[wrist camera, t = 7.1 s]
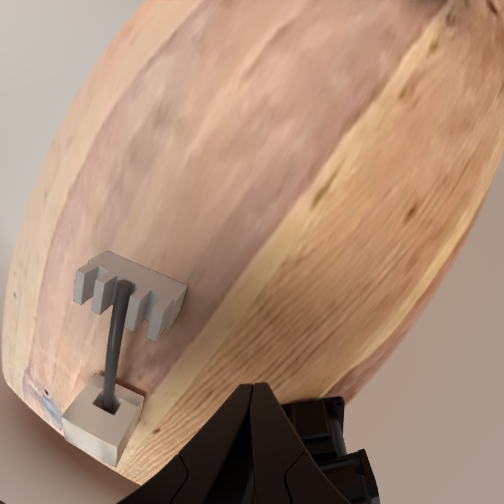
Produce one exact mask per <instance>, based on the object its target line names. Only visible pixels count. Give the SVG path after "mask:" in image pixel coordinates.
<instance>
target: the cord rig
mask: <svg viewBox="0 0 504 504" xmlns="http://www.w3.org/2000/svg"><path fill="white" fill-rule="evenodd" d="M187 287H188V285H186V284H183V283H181V282H178V281H176V280H173V279H171V278H169V277H166V276H164V275H162V274H159V273H157V272H154V271H152V270H150V269H147V268H145V267H143V266H140V265H138V264H136V263H134V262H131V261H129V260H127V259H125V258H122V257H120V256H118V255H116V254H113V253H111V252H109V251H106V252H104V253H102V254H100V255H98V256H96V257H94V258H92V259H90V260H88V264H86V265H84V266H83V267H81V268H79V269H77V271H76V279H75V288H74V298H73V301H75V302H76V303H78V304H80V305H82V304H83V303H84V302H86V301H87V300H88V299H90V298H91V297H92V296H93V302H92V310H91V311H93V312H95V313H97V314H99V315H101V314H102V313H103V312H104V311H105V310H106V309H107V308H109V307H110V306H111V305H113V310H112V317H111V323H110V330H109V338H108V345H107V354H106V363H105V374H104V387H103V403H102V410H104V411H106V412H108V413H110V414H113V403H114V393H115V384H116V376H117V368H118V361H119V354H120V347H121V341H122V335H123V329H124V327H125V328H127V329H129V330H131V331H133V332H134V331H135V330H136V328H137V327H138V326H139V325H140V324H141V322H142V321H143V320H146V321H149V322H150V323H149V327H148V331H147V336H146V338H148V339H150V340H153V341H155V342H156V341H157V340H158V338H159V337H160V335H161V334H162V332H163V331H164V329H167V330H169V328H170V326H171V325H172V323H173V322H174V320H175V319H176V317H177V316H178V314H179V312H180V309H181V306H182V303H183V300H184V296H185V293H186V290H187ZM126 313H127V315H126ZM125 318H126V320H125ZM124 324H125V325H124Z"/></svg>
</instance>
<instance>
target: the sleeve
mask: <svg viewBox="0 0 504 504" xmlns="http://www.w3.org/2000/svg"><path fill="white" fill-rule="evenodd" d="M103 387H104V377H103V376H101V375H99V374H97V373H95V375H94V376H93V377H92V378H91V380H90V381H89V382H88V383H87V385H86V386H85V387H84V388H83V390H82V391H81V392H80V393H79V395H78V396H77V397H76V399H75V400H74V401H73V402H72V404H71V405H70V406H69V407H68V409H67V410H66V411H65V413H64V414H63V415H62V417H61V418H62V424H63V430H64V436H65V440H66V441H68V442H70V443H71V444H73V445H75V446H76V447H78V448H80V449H81V450H83V451H85V452H87V453H89V454H90V455H92V456H94V457H96V458H98V459H100V460H102V461H104V462H106V463H108V464H110V465H112V466H114V467H116V466H117V464H118V462H119V460H120V458H121V456H122V454H123V452H124V450H125V448H126V446H127V444H128V442H129V440H130V438H131V436H132V434H133V432H134V430H135V428H136V426H137V424H138V422H139V420H140V415H141V410H142V405H143V400H144V396H141V395H139V394H137V393H135V392H133V391H131V390H128V389H126V388H124V387H122V386H120V385H118V384H115V393H114V403H113V414H110V413H108V412H106V411H104V410H102V403H103Z"/></svg>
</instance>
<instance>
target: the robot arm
mask: <svg viewBox="0 0 504 504" xmlns="http://www.w3.org/2000/svg"><path fill="white" fill-rule="evenodd" d="M338 402H339V403H338ZM343 422H344V399H343V398H342V397H337V398H331V399H325V400H318V401H312V402H304V403H297V404H288V405H280V404H279V402H278V400H277V398H276V397H275V395H274V393H273V391H272V390H271V388H270V386H269V384H268V383H267V382H260V383H255V384H254V385H253V384H252V383H249V384H240V385H239V386H238V387H237V388H236V389H235V390H234V392H233V393H232V394H231V395H230V396H229V397H228V399H227V400H226V401H225V402H224V403H223V404H222V406H221V407H220V408H219V409H218V410H217V411H216V412H215V414H214V415H213V416H212V417H211V418H210V419H209V420H208V421H207V422H206V424H205V425H204V426H203V427H202V428H201V429H200V430H199V431H198V432H197V433H196V434H195V436H194V437H193V438H192V439H191V440H190V441H189V442H188V443H187V444H186V445H185V446H184V447H183V448H182V449H181V450H180V451H179V453H178V454H179V455H178V454H176V455H175V456H174V458H173V459H172V460H171V461H170V462H169V463H168V464H166V465H165V466H164V467H163V468H162V469H161V470H160V471H159V472H158V473H157V474H155V475H154V476H153V477H152V478H151V479H149V480H148V481H147V482H146V483H144V484H143V485H142V486H140V487H139V488H137V489H136V490H135V491H133V492H132V493H131V494H129V495H128V496H126V497H125V498H123V499H122V500H121V501H119V502H118V503H116V504H380V499H379V493H378V488H377V484H376V480H375V477H374V474H373V472H372V468H371V466H370V463H369V460H368V457H367V454H366V451H365V449H361V450H358V452H354V453H350V454H347V452H346V448H345V443H344V439H343ZM0 504H5V503H4V502H2V501H0Z"/></svg>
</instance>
